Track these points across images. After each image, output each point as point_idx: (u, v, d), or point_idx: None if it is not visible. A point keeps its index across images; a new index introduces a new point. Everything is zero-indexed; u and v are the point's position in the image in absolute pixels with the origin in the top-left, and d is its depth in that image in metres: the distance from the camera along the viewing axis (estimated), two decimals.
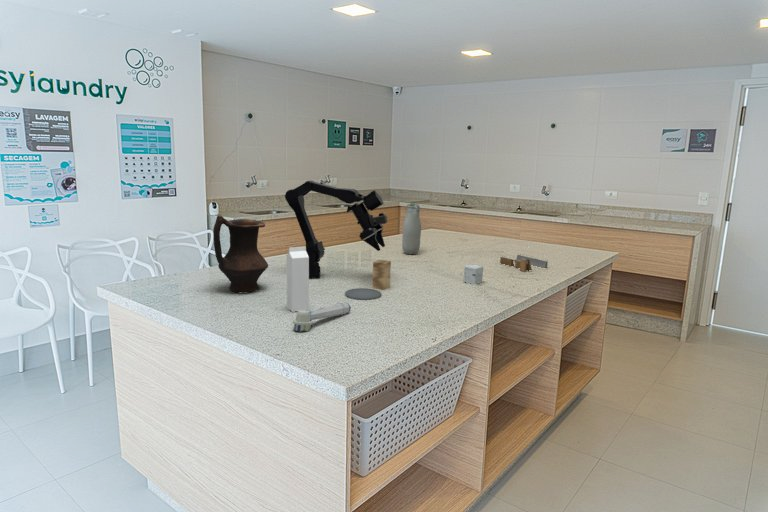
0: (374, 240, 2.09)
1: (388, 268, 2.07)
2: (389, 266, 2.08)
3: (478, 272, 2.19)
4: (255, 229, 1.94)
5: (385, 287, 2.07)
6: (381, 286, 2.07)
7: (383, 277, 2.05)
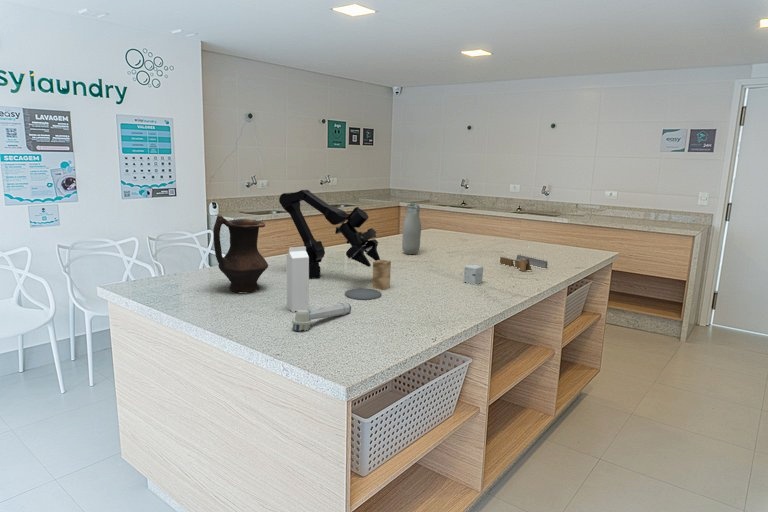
0: (362, 256, 2.04)
1: (388, 268, 2.07)
2: (389, 266, 2.08)
3: (478, 272, 2.19)
4: (255, 229, 1.94)
5: (385, 287, 2.07)
6: (381, 286, 2.07)
7: (383, 277, 2.05)
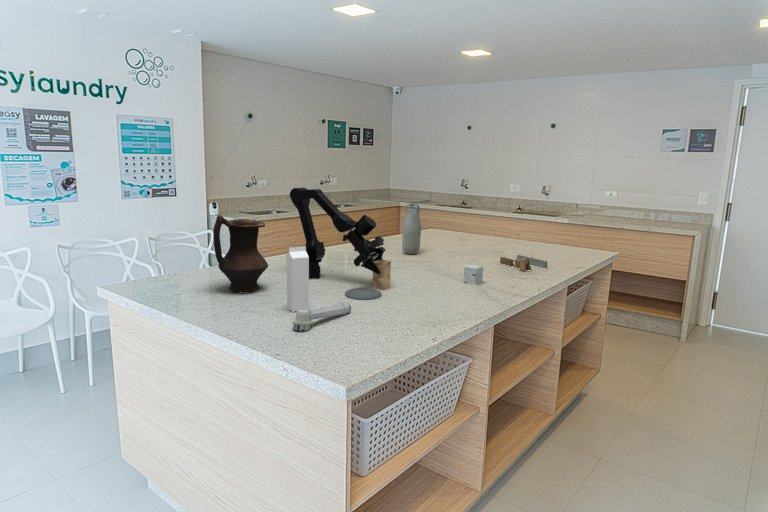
0: (372, 264, 2.05)
1: (388, 268, 2.08)
2: (389, 266, 2.08)
3: (478, 272, 2.19)
4: (255, 229, 1.94)
5: (385, 287, 2.07)
6: (381, 286, 2.06)
7: (383, 277, 2.05)
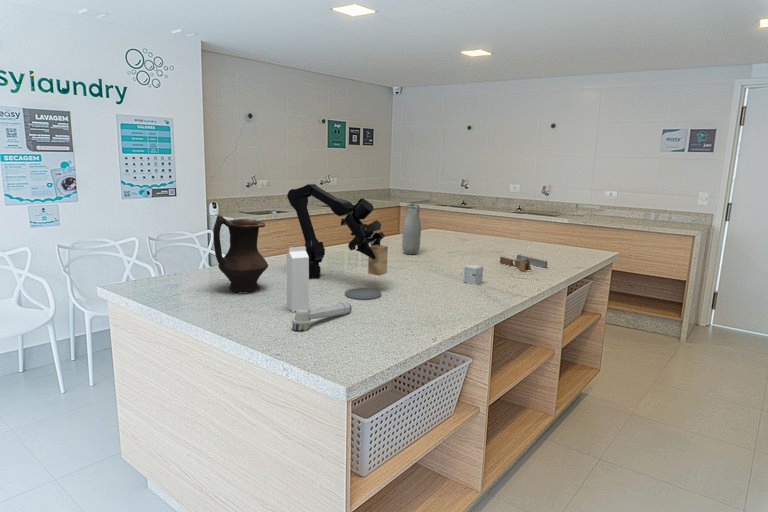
0: (367, 248, 2.00)
1: (384, 253, 2.02)
2: (386, 251, 2.03)
3: (478, 272, 2.19)
4: (255, 229, 1.94)
5: (380, 272, 2.02)
6: (376, 271, 2.01)
7: (378, 262, 2.00)
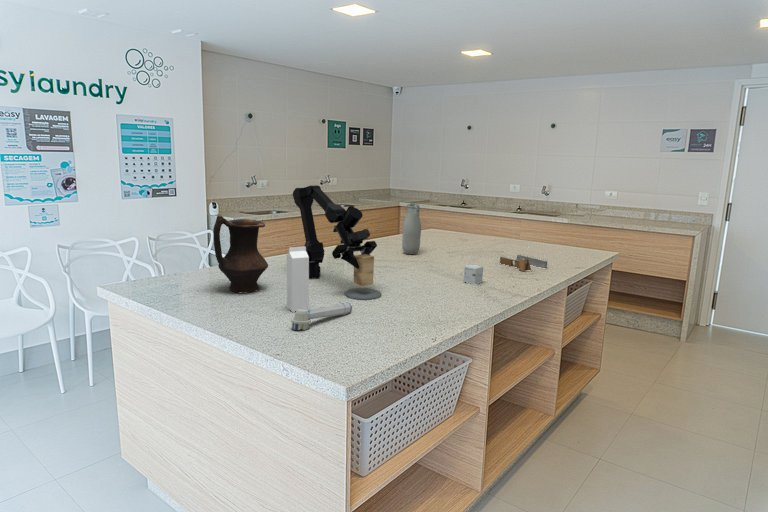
0: (351, 257, 1.94)
1: (369, 263, 1.94)
2: (371, 261, 1.95)
3: (478, 272, 2.19)
4: (255, 229, 1.94)
5: (364, 283, 1.94)
6: (360, 282, 1.95)
7: (361, 272, 1.93)
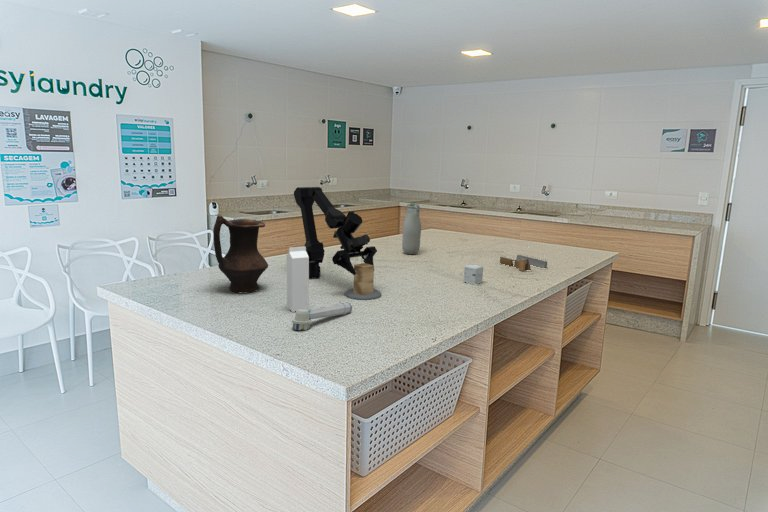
0: (347, 263, 1.94)
1: (369, 272, 1.95)
2: (371, 270, 1.96)
3: (478, 272, 2.19)
4: (255, 229, 1.94)
5: (364, 292, 1.95)
6: (360, 291, 1.95)
7: (361, 281, 1.94)
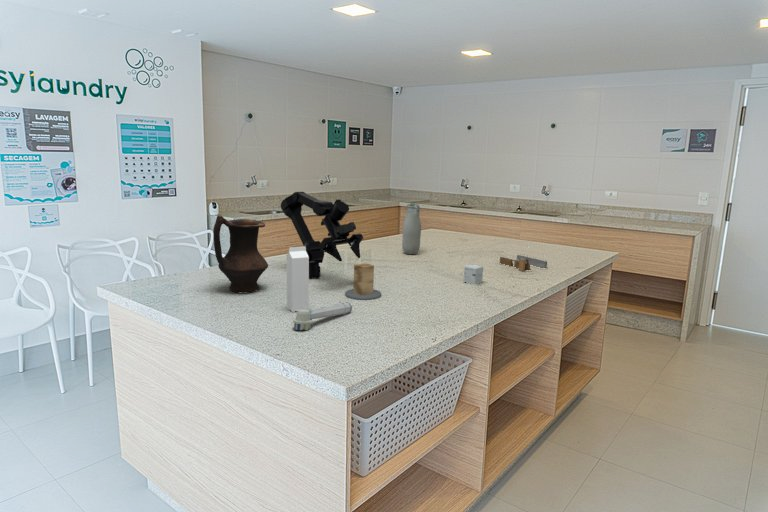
0: (334, 250, 2.00)
1: (369, 272, 1.95)
2: (371, 270, 1.96)
3: (478, 272, 2.19)
4: (255, 229, 1.94)
5: (364, 292, 1.95)
6: (360, 291, 1.95)
7: (361, 281, 1.94)
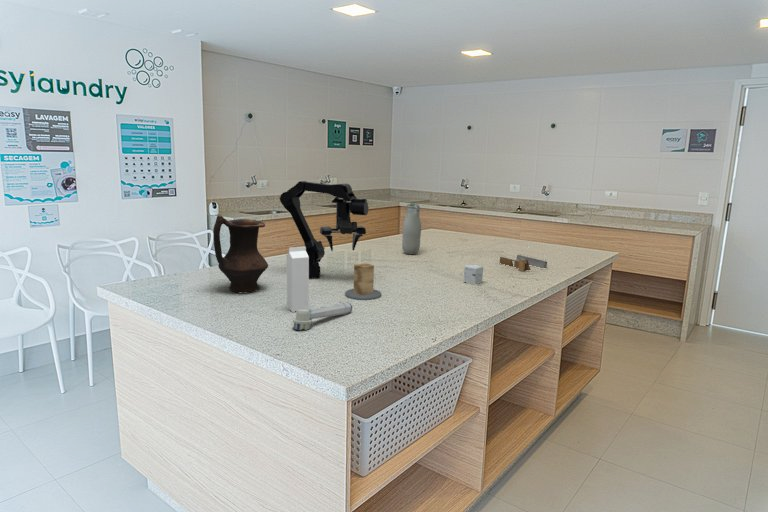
0: None
1: (369, 272, 1.95)
2: (371, 270, 1.96)
3: (478, 272, 2.19)
4: (255, 229, 1.94)
5: (364, 292, 1.95)
6: (360, 291, 1.95)
7: (361, 281, 1.94)
